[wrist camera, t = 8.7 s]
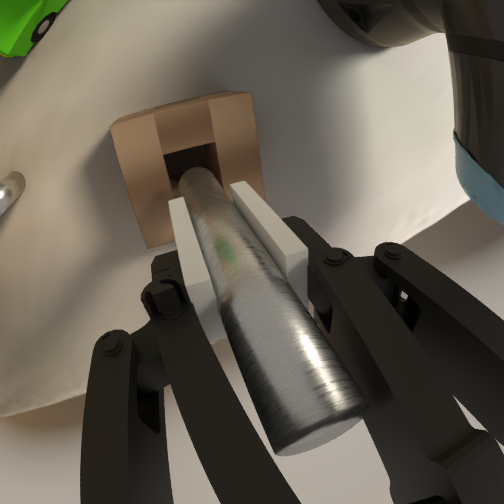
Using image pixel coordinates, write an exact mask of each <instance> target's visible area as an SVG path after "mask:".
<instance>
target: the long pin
mask: <svg viewBox="0 0 504 504" xmlns="http://www.w3.org/2000/svg"><path fill="white" fill-rule="evenodd" d="M179 191H180V194H181V197H184V201H185V204H186V207H187V210H188V213H189V216H190V219H191V222H192V225H193V228H194V231H195V235H196V238H197V241H198V243H199V246H200V249H201V252H202V255H203V258H204V261H205V264H206V267H207V270H208V273H209V275H210V278H211V282H212V285H213V289H214V292H215V296H216V299H217V303H218V312H219V315H220V318H221V320H222V323H223V326H224V329H225V331H226V334H227V337H228V340H229V342H230V345H231V348H232V350H233V353H234V356H235V358H236V361H237V364H238V366H239V369H240V371H241V373H242V376H243V379H244V382H245V384H246V387H247V389H248V392H249V394H250V397H251V399H252V402H253V404H254V406H255V409H256V411H257V414H258V416H259V419H260V421H261V423H262V426H263V428H264V431H265V433H266V435H267V438H268V440H269V442H270V445H271V447H272V449H273V451H274V453H275V455H278V456H290V455H295V454H299V453H303V452H306V451H309V450H311V449H314V448H316V447H319V446H321V445H323V444H325V443H327V442H329V441H331V440H333V439H335V438H337V437H338V436H340V435H342V434H343V433H345V432H346V431H348V430H349V429H351V428H352V427H353V426H354V425H356V424H357V423H358V422H359V421H360V420H362V419H363V418H364V416H365V415H366V414H367V413H368V411H369V410H370V408H371V404H370V403H369V401H368V400H367V398H366V397H365V395H364V394H363V392H362V391H361V389H360V388H359V386H358V385H357V383H356V382H355V380H354V379H353V377H352V376H351V374H350V373H349V371H348V370H347V368H346V367H345V365H344V364H343V362H342V361H341V359H340V358H339V356H338V355H337V353H336V352H335V350H334V349H333V347H332V346H331V344H330V343H329V341H328V340H327V338H326V337H325V335H324V334H323V332H322V331H321V329H320V328H319V327H318V325H317V324H316V322H315V321H314V319H313V318H312V316H311V315H310V313H309V312H308V310H307V309H306V307H305V306H304V305H303V303H302V302H301V300H300V299H299V297H298V296H297V294H296V293H295V291H294V290H293V288H292V287H291V286H290V284H289V283H288V281H287V280H286V278H285V277H284V275H283V274H282V272H281V271H280V270H279V268H278V267H277V265H276V264H275V262H274V261H273V259H272V258H271V257H270V255H269V254H268V252H267V251H266V249H265V248H264V246H263V245H262V244H261V242H260V241H259V239H258V238H257V236H256V235H255V234H254V232H253V231H252V229H251V228H250V226H249V225H248V224H247V222H246V221H245V219H244V218H243V216H242V215H241V214H240V212H239V211H238V209H237V208H236V206H235V205H234V204H233V202H232V201H231V199H230V198H229V196H228V195H227V194H226V192H225V191H224V189H223V188H222V187H221V185H220V184H219V182H218V181H217V179H216V178H215V177H214V175H213V174H212V173H211V172H210V171H209V170H208V169H206V168H202V167H195V168H191V169H189V170H188V171H186V172H185V173H184V174H183V175H182V177H181V178H180V181H179Z"/></svg>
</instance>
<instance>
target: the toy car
mask: <svg viewBox="0 0 504 504" xmlns="http://www.w3.org/2000/svg"><path fill="white" fill-rule="evenodd" d="M67 1H68V0H0V55H2V56H4V57H9V58H10V57H21V56H26V54H27V53H28V51H29V50H30V48H31V47H32V46H33V44H34V43H33V42H36V41H38V40H39V39H41V38H42V37H43V36H44V35H45V34H46V33H47V31H48V30H49V28H50V27H51V26H52V24H53V22H54V19H55V13H58V12H59V11H60V9H61V8H62V7H63V6H64V5H65V3H66V2H67ZM31 41H32V42H31Z"/></svg>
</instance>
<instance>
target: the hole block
mask: <svg viewBox="0 0 504 504" xmlns="http://www.w3.org/2000/svg"><path fill="white" fill-rule="evenodd" d="M110 131H111V135H112V139H113V142H114V146H115V150H116V153H117V157H118V160H119V164H120V167H121V171H122V174H123V178H124V181H125V184H126V187H127V190H128V194H129V197H130V200H131V203H132V206H133V209H134V212H135V215H136V218H137V221H138V224H139V226H140V229H141V232H142V235H143V238H144V240H145V243H146V246H147V249H149V248H153V247H156V246H159V245H163V244H166V243H169V242H173V241H176V240H175V235H174V230H173V225H172V220H171V214H170V209H169V203H168V201H170V200H173V199H177V198H180V197H181V194H180V191H179V181H180V178H181V177H182V176H179V177H175V178H172V179H170V178H169V174H168V170H167V166H166V161H165V157H164V155H165V154H168V153H172V152H176V151H179V150H183V149H187V148H191V147H195V146H199V145H203V144H205V149H206V154H207V159H208V165H209V169H208V170H209V171H210V172H211V173H212V174H213V175H214V177H215V178H216V179H217V181H218V182H219V184H220V185H221V187H222V188H223V189H224V191H225V192H226V194H227V195H228V196H229V198H230V199H231V201H232V202H233V200H232V194H231V188H230V184H233V183H237V182H241V181H245V182H246V183H247V184H248V185H249V186H250V187H251V188H252V189H253V190H254V191H255V192H256V193H257V194H258V195H259V196H260V197H261V198H262V199H263V200H264V201H265V197H264V188H263V180H262V171H261V163H260V155H259V147H258V139H257V131H256V123H255V116H254V108H253V100H252V93H247V92H233V91H229V92H223V93H218V94H212V95H207V96H202V97H197V98H192V99H188V100H183V101H179V102H175V103H170V104H166V105H163V106H159V107H155V108H151V109H148V110H144V111H141V112H137V113H134V114H131V115H127V116H124V117H121V118H119V119H118V120H116V121H115V122H114V123H113V124H112V125H111V126H110Z"/></svg>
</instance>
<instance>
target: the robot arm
mask: <svg viewBox="0 0 504 504" xmlns="http://www.w3.org/2000/svg"><path fill="white" fill-rule="evenodd" d="M318 1H319V3H320V4H321V6H322V8H323V9H324V10H325V12H326V13H327V14H328V16H329V17H330V18H331V19H332V20H333V21H334V22H335V23H336V24H337V25H338V26H339V27H340V28H341V29H342V30H343V31H345V32H346V33H347V34H349V35H350V36H352V37H353V38H355V39H357V40H359V41H361V42H363V43H366V44H369V45H372V46H378V47H398V46H404V45H407V44H409V43H412V42H414V41H417V40H419V39H422V38H424V37H427V36H429V35H432V34H434V33H445V34H446V39H447V45H448V53H449V60H450V67H451V76H452V86H453V99H454V122H455V128H454V131H453V136H454V137H453V139H454V142H455V158H456V173H457V177H458V180H459V182H460V184H461V186H462V188H463V189H464V191H465V193H466V194H467V195H468V196H469V198H470V199H471V200H472V201H473V202H474V203H476V204H477V205H478V206H479V207H480V209H481V210H482V211H484V212H485V213H486V214H487V215H489V216H490V217H491V218H493V219H494V220H496V221H498V222H499V223H501V224H502V225H504V0H318ZM230 188H231V194H232V200H233V204H234V205H235V206H236V208H237V209H238V211H239V212H240V214H241V215H242V216H243V218H244V219H245V221H246V222H247V224H248V225H249V226H250V228H251V229H252V231H253V232H254V234H255V235H256V236H257V238H258V239H259V241H260V242H261V244H262V245H263V246H264V248H265V249H266V251H267V252H268V254H269V255H270V257H271V258H272V259H273V261H274V262H275V264H276V265H277V267H278V268H279V270H280V271H281V272H282V274H283V275H284V277H285V278H286V280H287V281H288V283H289V284H290V286H291V287H292V288H293V290H294V291H295V293H296V294H297V296H298V297H299V299H300V300H301V302H302V303H303V305H304V306H305V307H306V309H307V310H308V299H309V300H310V301H311V303H312V304H313V306H314V321H315V322H316V324H318V325H319V327H320V329H321V331H322V332H323V334H324V335H325V337H326V338H327V340H328V341H329V343H330V344H331V346H332V347H333V349H334V350H335V352H336V353H337V355H338V356H339V358H340V359H341V361H342V362H343V364H344V365H345V367H346V368H347V370H348V371H349V373H350V374H351V376H352V377H353V379H354V380H355V382H356V383H357V385H358V386H359V388H360V389H361V391H362V392H363V394H364V395H365V397H366V398H367V400H368V401H369V403H370V404H371V408H370V410H369V411H368V413H367V414H366V415H365V416H364V418H363V419H364V422H365V424H366V426H367V428H368V431H369V433H370V435H371V437H372V439H373V441H374V444H375V446H376V448H377V451H378V453H379V455H380V457H381V460H382V462H383V464H384V466H385V469H386V471H387V473H388V476H389V478H390V494H391V497H392V500H393V503H394V504H504V454H503V452H502V450H501V449H500V447H499V445H498V443H497V441H498V442H499V443H501V444H502V445H503V446H504V320H502V319H501V318H500V317H499V316H498V315H496V314H495V313H494V312H492V311H491V310H490V309H489V308H488V307H486V306H485V305H484V304H483V303H482V302H480V301H479V300H478V299H477V298H475V297H474V296H473V295H471V294H470V293H469V292H467V291H466V290H465V289H463V288H462V287H461V286H459V285H458V284H457V283H456V282H454V281H453V280H452V279H450V278H449V277H447V276H446V275H445V274H443V273H442V272H440V271H439V270H438V269H436V268H435V267H433V266H432V265H431V264H429V263H428V262H426V261H425V260H423V259H422V258H420V257H419V256H418V255H416V254H415V253H413V252H412V251H410V250H409V249H407V248H406V247H404V246H402V245H400V244H398V243H393V242H385V243H382V244H379V245H378V246H377V247H376V249H375V252H374V256H366V257H354V256H353V255H352V254H351V253H350V252H348V251H347V250H344V249H342V248H332V247H331V246H330V245H329V244H328V243H327V242H326V241H325V240H324V239H323V238H322V237H321V236H320V235H319V234H318V233H317V232H315V230H313V229H312V228H311V227H310V226H309V225H308V224H307V223H306V222H305V221H304V220H303V219H300V218H298V217H295V216H291V217H287V218H283V219H281V218H280V217H279V216H278V215H277V214H276V213H275V212H274V211H273V210H272V209H271V208H270V207H269V206H268V205H267V204H266V202H265V201H264V200H263V199H262V198H261V197H260V196H259V195H258V194H257V193H256V192H255V191H254V190H253V189H252V188H251V187H250V186H249V185H248V184H247V183H246V182H245V181H241V182H237V183H233V184H230ZM168 203H169V209H170V214H171V220H172V225H173V230H174V235H175V240H176V245H177V250H175V251H171V252H168V253H165V254H161V255H158V256H155V258H154V260H153V262H152V264H151V273H152V282H150V283H149V284H148V285H147V286H146V287H145V288H144V290H143V292H142V293H141V301H142V303H143V305H144V307H145V309H146V311H147V313H148V315H149V317H150V321H149V322H148V323H147V324H146V325H145V326H143V327H142V328H140V329H139V330H137V331H135V332H134V333H132V334H130V335H129V334H128V332H126V331H124V330H112V331H109V332H107V333H105V334H104V335H102V336H101V337H100V338H99V339H98V341H97V342H96V344H95V346H94V349H93V354H92V360H91V366H90V372H89V378H88V385H87V392H86V400H85V408H84V418H83V429H82V443H81V465H80V499H81V504H174V503H173V496H172V488H171V480H170V473H169V462H168V451H167V439H166V425H165V407H164V387H165V386H167V385H169V384H171V387H172V390H173V393H174V396H175V399H176V402H177V404H178V407H179V410H180V413H181V415H182V418H183V420H184V423H185V425H186V428H187V431H188V433H189V436H190V438H191V440H192V443H193V445H194V448H195V450H196V452H197V455H198V457H199V459H200V462H201V464H202V466H203V468H204V470H205V473H206V475H207V477H208V479H209V481H210V483H211V485H212V487H213V489H214V491H215V493H216V495H217V497H218V499H219V501H220V503H221V504H301V502H300V501H299V499H298V498H297V496H296V495H295V493H294V492H293V490H292V489H291V487H290V486H289V485H288V483H287V481H286V480H285V478H284V477H283V475H282V473H281V472H280V470H279V469H278V467H277V465H276V464H275V462H274V460H273V459H272V457H271V456H270V454H269V452H268V451H267V449H266V447H265V446H264V444H263V442H262V440H261V439H260V437H259V435H258V434H257V432H256V430H255V428H254V427H253V425H252V423H251V421H250V420H249V418H248V416H247V414H246V412H245V410H244V409H243V407H242V405H241V403H240V401H239V400H238V398H237V396H236V394H235V392H234V390H233V388H232V386H231V384H230V383H229V381H228V378H227V377H226V375H225V373H224V371H223V369H222V367H221V365H220V363H219V361H218V359H217V357H216V355H215V353H214V351H213V349H212V347H211V344H210V343H212V342H215V341H218V340H222V339H225V338H228V337H227V334H226V331H225V329H224V326H223V323H222V320H221V318H220V315H219V312H218V303H217V299H216V296H215V292H214V289H213V285H212V282H211V278H210V275H209V273H208V270H207V267H206V264H205V261H204V258H203V255H202V252H201V249H200V246H199V243H198V241H197V238H196V235H195V231H194V228H193V225H192V222H191V219H190V216H189V213H188V210H187V207H186V204H185V201H184V197H180V198H177V199H173V200H170V201H168ZM402 291H403V292H405V293H406V294H407V295H408V297H407V299H404V298H402V297H401V293H402ZM453 396H454V397H455V398H457V400H458V401H459V402H460V403H461V404H462V405H463V406H464V407H465V408H466V409H467V410H468V411H469V412H470V413H471V414H472V415H473V416H474V417H475V418H476V419H477V420H478V421H479V422H480V423H481V424H482V425H483V427H484V428H486V430H487V431H488V432H487V431H485V430H479V429H475V428H473V427H472V426H471V425H470V424H469V422H468V420H467V418H466V417H465V415H464V413H463V412H462V410H461V408H460V407H459V405H458V403H457V402H456V400H455V399H454V397H453ZM495 439H496V440H497V441H496V440H495Z"/></svg>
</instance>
